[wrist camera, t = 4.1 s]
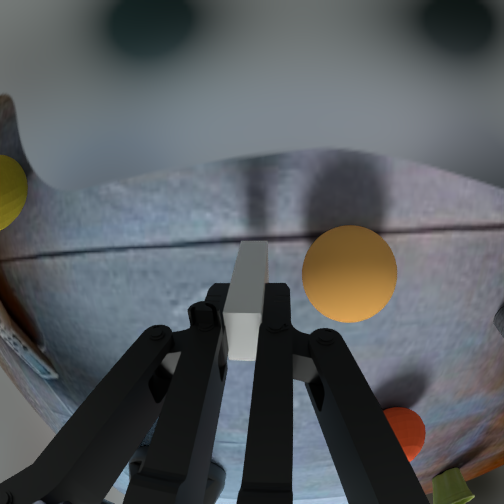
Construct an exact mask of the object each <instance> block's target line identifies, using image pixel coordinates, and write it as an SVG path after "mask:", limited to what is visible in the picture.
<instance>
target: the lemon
mask: <svg viewBox="0 0 504 504" xmlns="http://www.w3.org/2000/svg"><path fill="white" fill-rule="evenodd" d="M27 189H28V185H27V178H26V175H25V172H24V170H23V169H22V167H21V166H20V164H19V163H18V162H17V161H16V160H14V159H13V158H11V157H8V156H6V155H0V231H1V230H3V229H4V228H6V227H7V226H8V225H9V224H11V223H12V222H13V221H14V220H15V218H16V217H17V216H18V215H19V214H20V212H21V210H22V208H23V206H24V204H25V201H26V197H27Z"/></svg>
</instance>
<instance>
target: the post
mask: <svg viewBox="0 0 504 504" xmlns="http://www.w3.org/2000/svg"><path fill="white" fill-rule="evenodd" d="M494 325H495V326H496V328H497V329H498V331H499V332H500V333H501V335H502V336H503V338H504V307H502V308H501V309H500V310H499V311H498V313H497V314H496V316H495V318H494Z"/></svg>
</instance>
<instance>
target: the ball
mask: <svg viewBox="0 0 504 504" xmlns="http://www.w3.org/2000/svg"><path fill="white" fill-rule="evenodd" d="M302 281H303V286H304V290H305V293H306V295H307V297H308V299H309V301H310V302H311V303H312V305H313V306H314V307H315V308H316V309H317V310H318V311H319V312H320V313H322V314H323V315H325V316H326V317H328V318H330V319H333V320H336V321H339V322H348V323H350V322H358V321H362V320H365V319H368V318H370V317H372V316H374V315H375V314H377V313H378V312H379V311H380V310H382V309H383V308H384V307H385V305H386V304H387V303H388V301H389V300H390V298H391V296H392V294H393V292H394V289H395V286H396V281H397V265H396V261H395V257H394V255H393V253H392V251H391V249H390V247H389V246H388V244H387V243H386V242H385V241H384V240H383V238H382V237H380V236H379V235H378V234H377V233H375V232H373V231H372V230H370V229H367V228H365V227H361V226H355V225H345V226H339V227H336V228H333V229H331V230H328V231H327V232H325V233H323V234H322V235H321V236H319V237H318V238H317V239H316V240H315V241H314V243H313V244H312V245H311V247H310V248H309V250H308V252H307V254H306V256H305V259H304V263H303V268H302Z"/></svg>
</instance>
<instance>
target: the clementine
mask: <svg viewBox="0 0 504 504" xmlns="http://www.w3.org/2000/svg"><path fill="white" fill-rule="evenodd" d="M383 412H384V414H385V416H386V418H387V420H388V422H389V424H390V426H391V428H392V429H393V431H394V433H395V435H396V437H397V439H398V441H399V443H400V445H401V447H402V449H403V451H404V453H405V455H406V457H407V459H408V461H409V462H410V461H412V460H413V459H414V458H415V457H416V456H417V454H418V453H419V452H420V450H421V448H422V446H423V444H424V440H425V434H426V432H425V425H424V423H423V421H422V419H421V418H420V416H419V415H418V414H417V413H416V412H414V411H412V410H410V409H408V408H404V407H393V408H388V409H385V410H383Z"/></svg>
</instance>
